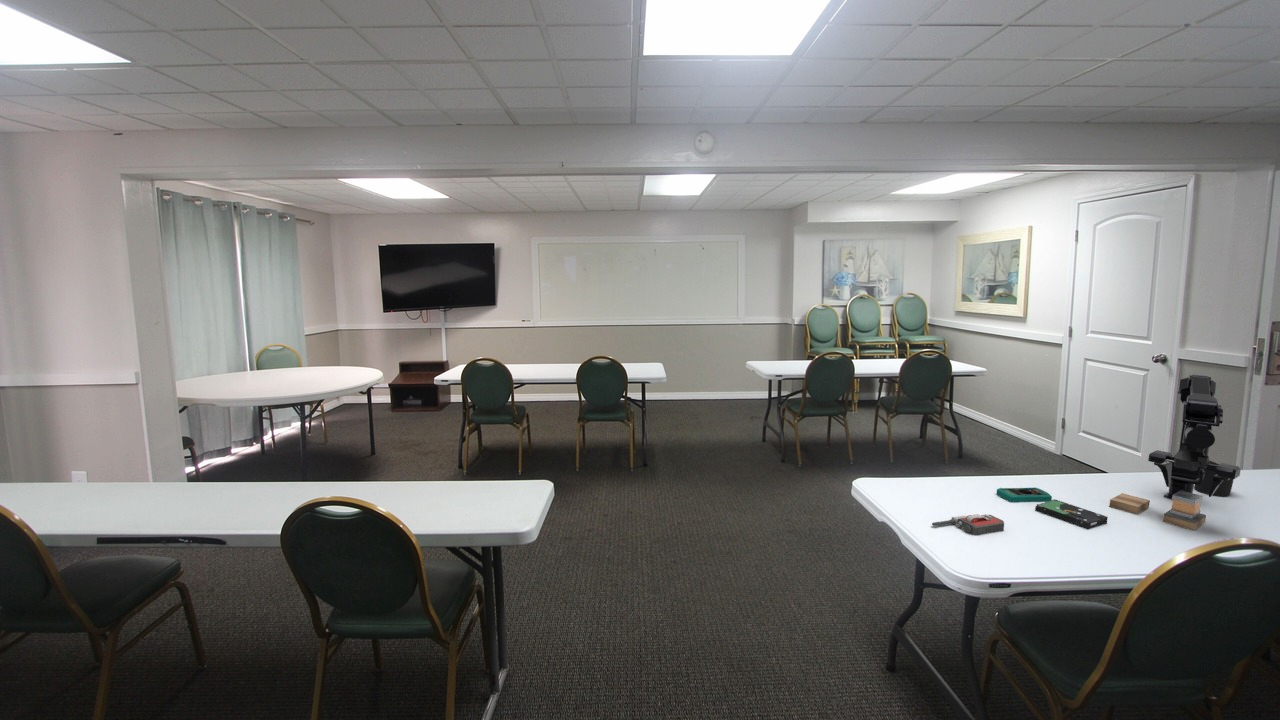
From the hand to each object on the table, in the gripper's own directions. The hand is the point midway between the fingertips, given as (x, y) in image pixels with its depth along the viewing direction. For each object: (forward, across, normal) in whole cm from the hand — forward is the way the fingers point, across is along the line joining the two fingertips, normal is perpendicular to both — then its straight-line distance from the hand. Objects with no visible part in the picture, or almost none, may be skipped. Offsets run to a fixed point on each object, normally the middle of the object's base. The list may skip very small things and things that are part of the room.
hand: (1188, 491), depth 166 cm
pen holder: (+10, -3, +41) cm, 43 cm away
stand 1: (+10, -13, 0) cm, 16 cm away
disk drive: (+11, -20, -24) cm, 33 cm away
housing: (+7, 0, 0) cm, 7 cm away
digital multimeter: (+10, -35, -20) cm, 42 cm away
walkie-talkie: (+11, -32, -59) cm, 68 cm away
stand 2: (+10, 0, 0) cm, 10 cm away
